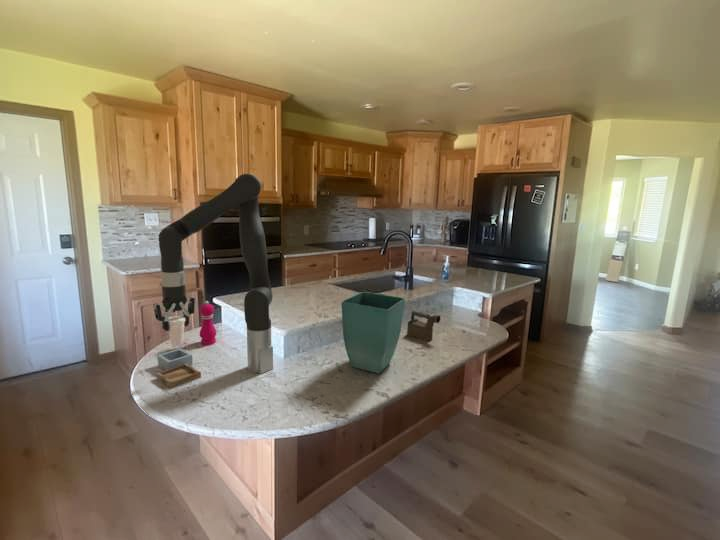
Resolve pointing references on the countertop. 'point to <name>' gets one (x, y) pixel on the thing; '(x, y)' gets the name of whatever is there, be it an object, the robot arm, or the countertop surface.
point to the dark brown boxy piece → (422, 326)
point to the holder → (174, 359)
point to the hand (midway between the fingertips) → (176, 328)
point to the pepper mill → (207, 325)
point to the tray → (178, 375)
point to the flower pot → (371, 329)
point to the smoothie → (176, 329)
